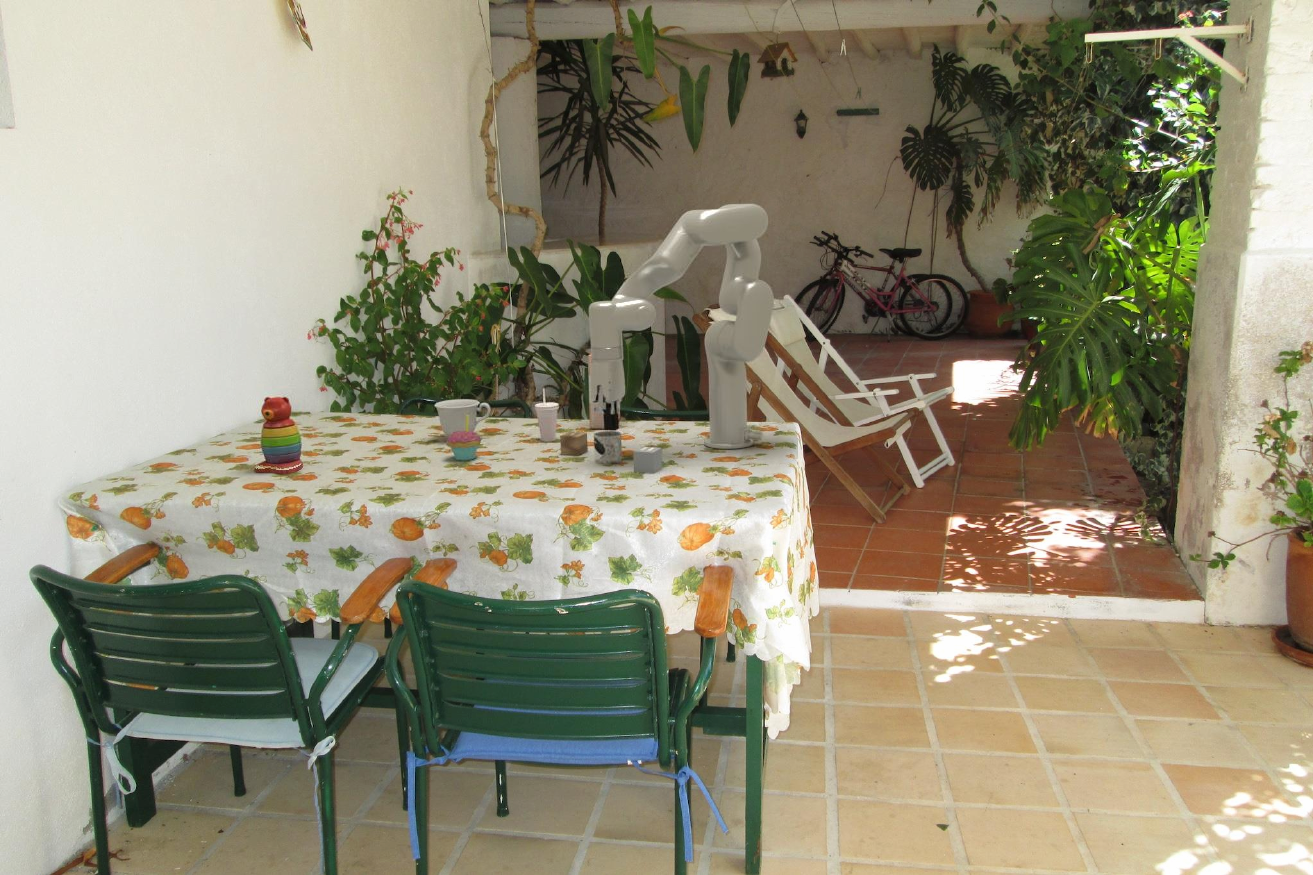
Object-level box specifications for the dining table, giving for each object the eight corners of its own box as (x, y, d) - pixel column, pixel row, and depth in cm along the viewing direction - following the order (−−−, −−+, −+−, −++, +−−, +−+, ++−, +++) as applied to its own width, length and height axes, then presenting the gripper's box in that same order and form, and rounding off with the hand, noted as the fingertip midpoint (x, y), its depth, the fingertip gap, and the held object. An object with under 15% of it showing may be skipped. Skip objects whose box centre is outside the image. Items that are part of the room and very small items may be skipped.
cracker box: (610, 429, 292) (607, 355, 287) (589, 429, 293) (586, 355, 288) (622, 420, 305) (619, 348, 301) (601, 419, 306) (599, 348, 302)
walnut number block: (587, 452, 266) (586, 432, 265) (578, 456, 261) (577, 436, 260) (570, 450, 268) (569, 431, 267) (561, 455, 263) (560, 435, 262)
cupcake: (488, 456, 264) (485, 409, 262) (469, 463, 256) (465, 415, 254) (460, 453, 268) (457, 407, 265) (440, 461, 260) (436, 413, 258)
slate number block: (662, 468, 246) (661, 447, 245) (653, 473, 242) (653, 451, 241) (642, 467, 248) (642, 445, 247) (634, 472, 244) (633, 450, 243)
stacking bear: (250, 472, 254) (242, 400, 250) (278, 462, 264) (271, 392, 260) (287, 475, 251) (279, 401, 247) (314, 465, 260) (307, 394, 256)
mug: (590, 459, 257) (589, 432, 256) (616, 456, 260) (615, 430, 258) (605, 468, 248) (604, 440, 247) (631, 464, 251) (630, 437, 249)
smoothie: (536, 438, 283) (533, 387, 281) (560, 437, 284) (558, 386, 281) (536, 443, 277) (533, 390, 274) (560, 442, 278) (557, 389, 275)
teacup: (488, 443, 279) (485, 406, 277) (432, 444, 279) (429, 407, 277) (496, 433, 291) (493, 398, 289) (442, 435, 291) (439, 399, 289)
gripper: (606, 349, 257) (610, 422, 261) (578, 358, 243) (583, 435, 247) (634, 349, 254) (638, 423, 258) (607, 359, 240) (612, 437, 244)
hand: (611, 429), depth 253 cm, fingers closed
